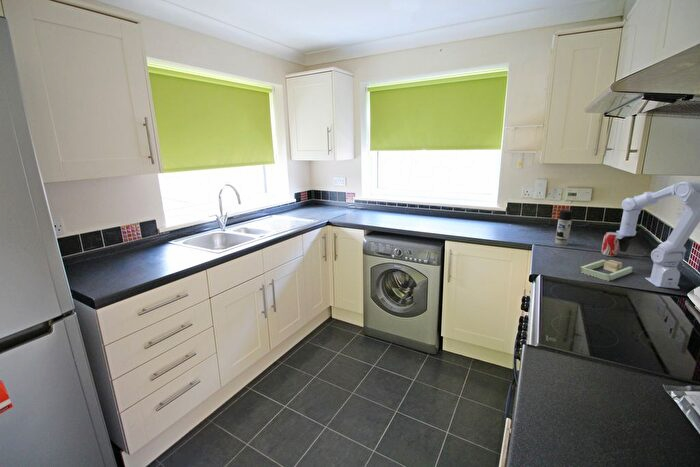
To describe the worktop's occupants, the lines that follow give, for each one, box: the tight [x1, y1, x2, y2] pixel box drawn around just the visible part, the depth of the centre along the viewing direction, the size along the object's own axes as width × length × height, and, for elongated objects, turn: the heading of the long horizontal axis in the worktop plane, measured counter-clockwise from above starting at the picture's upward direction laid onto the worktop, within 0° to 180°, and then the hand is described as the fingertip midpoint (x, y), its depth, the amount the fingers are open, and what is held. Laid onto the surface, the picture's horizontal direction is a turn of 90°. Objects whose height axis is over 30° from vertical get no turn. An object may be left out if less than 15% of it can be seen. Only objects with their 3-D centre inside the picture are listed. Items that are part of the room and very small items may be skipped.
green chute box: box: [578, 259, 634, 282], centre depth 160 cm, size 21×12×2 cm, turn 120°
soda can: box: [600, 231, 620, 257], centre depth 183 cm, size 7×7×12 cm
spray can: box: [554, 209, 574, 246], centre depth 202 cm, size 7×7×20 cm
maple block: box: [603, 259, 623, 273], centre depth 162 cm, size 5×5×4 cm
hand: (622, 251), depth 164 cm, fingers closed
